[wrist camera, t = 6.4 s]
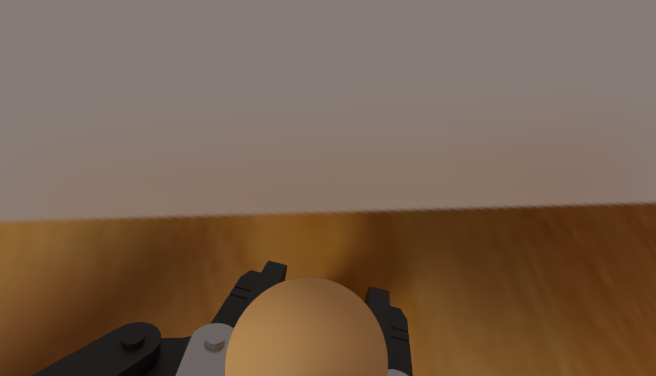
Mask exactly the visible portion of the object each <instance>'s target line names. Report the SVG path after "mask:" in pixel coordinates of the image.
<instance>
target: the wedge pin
mask: <svg viewBox="0 0 656 376" xmlns="http://www.w3.org/2000/svg"><path fill="white" fill-rule="evenodd" d="M387 375H388V355H387V348H386V343H385V339H384V336H383V333H382V330H381V328H380V325H379V323H378V321H377V319H376V318H375V316H374V314H373V313H372V311H371V310H370V309H369V307H368V306H367V305H366V304H365V303H364V301H363V300H362V299H361V298H360V297H358V296H357V295H356V294H355V293H354V292H352V291H351V290H349V289H348V288H346V287H345V286H343V285H341V284H338V283H336V282H334V281H330V280H327V279H323V278H317V277H302V278H295V279H290V280H286V281H284V282H281V283H278V284H276V285H274V286H272V287H270V288H269V289H267V290H266V291H264V292H263V293H261V294H260V295H259V296H258V297H257V298H256V299H255V300H253V301H252V303H251V304H250V305H249V306H248V307H247V308H246V309H245V311H244V312H243V314H242V315H241V317H240V318H239V320H238V322H237V324H236V325H235V327H234V330H233V332H232V335H231V337H230V340H229V344H228V348H227V353H226V360H225V376H387Z"/></svg>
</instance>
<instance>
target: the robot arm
mask: <svg viewBox="0 0 656 376" xmlns="http://www.w3.org/2000/svg"><path fill="white" fill-rule="evenodd" d="M286 271H287V265H284V264H280V263H276V262H272V261H268V262H267V263H266V265H265V267H264V269H263V271H262V272H261V273H260V272H256V271H252V270H251V271H249V272H247V273H246V274H244V275H243V276H241V277H240V279H239V280H238V282H237V283H236V285H235V287H234V288H233V289H232V291H231V293H230V295H229V296H228V297H227V299H226V300H225V302H224V304H223V305H222V307H221V308H220V310H219V311H218V313H217V314H216V316H215V318H214V319H213V321H212V322H211V324H208V325H205V326H202V327H201V328H199V329H197V330H196V331H195V332H194V334H193V335H192V336H190V337H185V338H161V334H160V331H159V329H158V328H157V327H155V326H154V325H152V324H149V323H143V322H136V323H130V324H127V325H124V326H121V327H119V328H117V329H116V330H114V331H112V332H110V333H108V334H107V335H105V336H103V337H101V338H99V339H98V340H96V341H94V342H92V343H90V344H88V345H87V346H85V347H83V348H81V349H79V350H78V351H76V352H74V353H72V354H70V355H69V356H67V357H65V358H63V359H61V360H59V361H58V362H56V363H54V364H52V365H50V366H49V367H47V368H45V369H43V370H41V371H40V372H38V373H36V374H34V375H32V376H225V360H226V353H227V348H228V344H229V340H230V337H231V335H232V332H233V330H234V327H235V325H236V324H237V322H238V320H239V318H240V317H241V315H242V314H243V312H244V311H245V309H246V308H247V307H248V306H249V305H250V304H251V303H252V301H253V300H255V299H256V298H257V297H258V296H259V295H260V294H261V293H263V292H264V291H266V290H267V289H269V288H270V287H272V286H274V285H276V284H278V283H281V282H284V281H285V277H286ZM364 303H365V304H366V305H367V306H368V307H369V309H370V310H371V311H372V313H373V314H374V316H375V318H376V319H377V321H378V323H379V325H380V328H381V330H382V333H383V336H384V339H385V343H386V348H387V355H388V375H387V376H413V373H412V363H411V354H410V344H409V334H408V324H407V319H406V317H405V316H404V314H403V312H402V310H401V309H400V308H396V307H392V306H390V301H389V291H386V290H382V289H378V288H374V287H369V288H368V291H367V295H366V298H365V302H364Z"/></svg>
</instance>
